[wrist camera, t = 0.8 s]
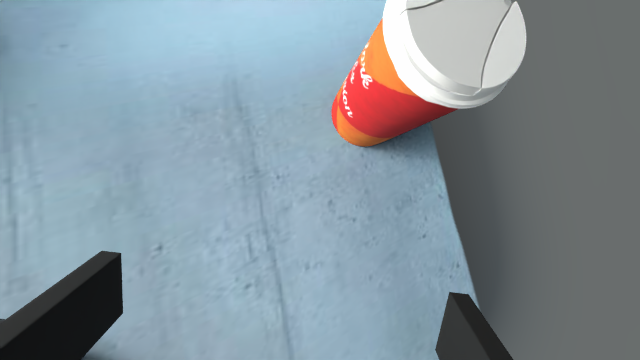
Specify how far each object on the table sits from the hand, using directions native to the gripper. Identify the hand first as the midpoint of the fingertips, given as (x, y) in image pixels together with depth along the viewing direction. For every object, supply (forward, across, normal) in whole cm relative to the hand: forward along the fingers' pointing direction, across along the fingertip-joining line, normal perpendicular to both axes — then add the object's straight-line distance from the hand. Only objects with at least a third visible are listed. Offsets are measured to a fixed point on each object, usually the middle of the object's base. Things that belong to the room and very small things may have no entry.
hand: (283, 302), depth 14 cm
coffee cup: (+21, -4, -6) cm, 22 cm away
